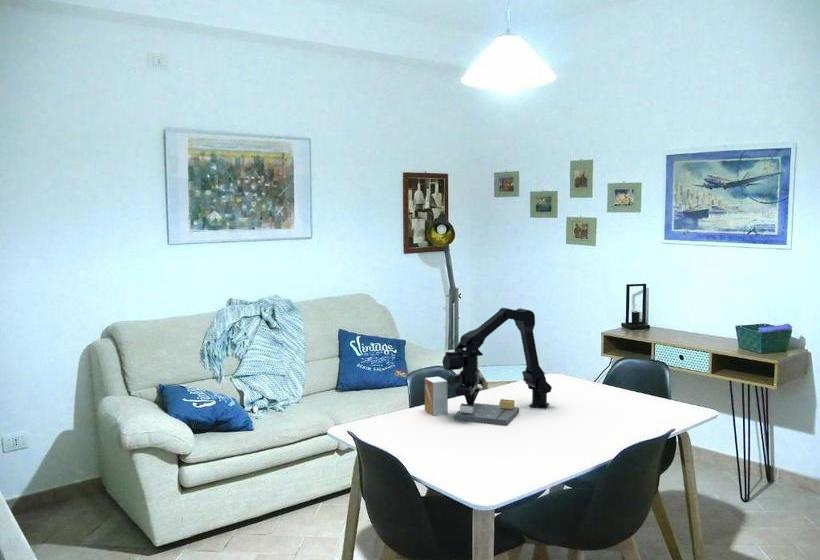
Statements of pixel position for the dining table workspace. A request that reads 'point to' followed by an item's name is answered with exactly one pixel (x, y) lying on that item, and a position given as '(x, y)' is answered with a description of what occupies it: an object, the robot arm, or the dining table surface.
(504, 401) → the amber fader
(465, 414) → the mixing board
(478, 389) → the robot arm
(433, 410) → the small box
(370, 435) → the dining table surface
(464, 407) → the block
